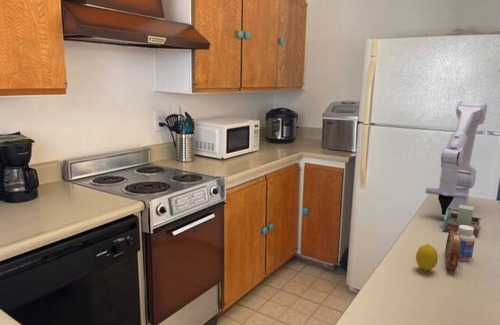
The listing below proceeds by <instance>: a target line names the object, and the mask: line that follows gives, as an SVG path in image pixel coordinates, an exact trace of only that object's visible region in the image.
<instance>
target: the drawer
mask: <svg viewBox="0 0 500 325" xmlns="http://www.w3.org/2000/svg"><path fill="white" fill-rule="evenodd" d="M451 213H452V209H451V208H450V207H449V208H447V211H446V214H445V215H442V216H441V217H440V222H442V231H445V229H446V225H447V223H452V224H456V223H457V219H456V218H451V217H450V215H451ZM471 227H473V228H477V222H472V221H471Z"/></svg>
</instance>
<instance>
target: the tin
mask: <svg viewBox="0 0 500 325" xmlns="http://www.w3.org/2000/svg"><path fill="white" fill-rule="evenodd" d="M460 253H461V239H460V234H459V233H457V232H453V231H449V232H448V234H447V238H446V243H445V250H444V262H445V266H444V267H445V268H447V269H452V270H457V268H458V266H459V265H458V264H459V260H458V259H459V256H460Z"/></svg>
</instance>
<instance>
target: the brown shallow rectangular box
mask: <svg viewBox="0 0 500 325" xmlns="http://www.w3.org/2000/svg"><path fill="white" fill-rule="evenodd" d="M457 216H458V213H456V212H455V213H454V212H450V217H451V218H456V219H457ZM481 219H482V218H480V217H475V216H472V222H477V228H474V232H473V235H474V236H475V239H478V235H479V230H480V225H481V224H480V222H481ZM459 226H460V225H457V224H452V223H447V225H446V228H445V230H444V231H445V232H446V233H447V232H448V233H449V231H453V232H459V231H458V229H459Z"/></svg>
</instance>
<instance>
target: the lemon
mask: <svg viewBox="0 0 500 325" xmlns="http://www.w3.org/2000/svg"><path fill="white" fill-rule="evenodd" d="M438 257H439V254H438V251H437V249H436V248H435V247H433V245H430V244H429V243H427V244H422V245H421V246H419V247H418V248H417V251H416V255H415V261H416V264H417V266H418V267H419V268H420V269H422V270H423V271H425V272H426V271H429V270H433V269H434V268H436V266H437V264H438V262H439V261H438V260H439V258H438Z"/></svg>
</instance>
